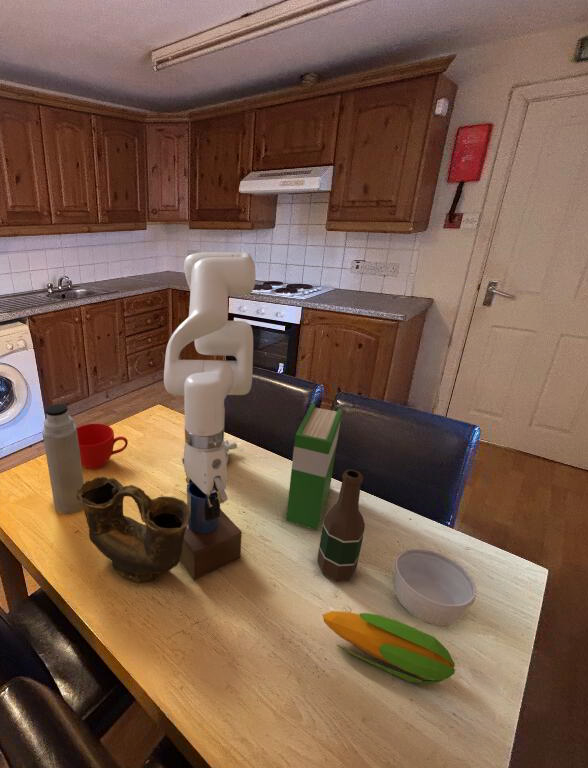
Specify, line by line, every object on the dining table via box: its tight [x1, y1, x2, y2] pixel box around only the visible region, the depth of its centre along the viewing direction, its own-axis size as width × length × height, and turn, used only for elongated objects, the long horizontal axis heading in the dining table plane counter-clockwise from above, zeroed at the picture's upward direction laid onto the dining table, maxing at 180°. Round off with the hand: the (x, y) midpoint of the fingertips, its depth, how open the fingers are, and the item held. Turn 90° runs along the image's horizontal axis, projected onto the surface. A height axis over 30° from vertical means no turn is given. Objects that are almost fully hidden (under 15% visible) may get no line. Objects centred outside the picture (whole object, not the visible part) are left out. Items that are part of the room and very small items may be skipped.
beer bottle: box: [316, 469, 366, 582], centre depth 83 cm, size 8×8×24 cm
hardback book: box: [285, 403, 343, 531], centre depth 102 cm, size 18×7×24 cm, turn 152°
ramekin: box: [393, 547, 477, 626], centre depth 79 cm, size 13×13×7 cm
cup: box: [186, 481, 219, 534], centre depth 88 cm, size 7×7×9 cm
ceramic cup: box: [77, 423, 129, 470], centre depth 123 cm, size 13×17×10 cm
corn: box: [322, 610, 456, 685], centre depth 69 cm, size 7×8×20 cm
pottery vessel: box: [77, 476, 191, 584], centre depth 86 cm, size 25×11×20 cm, turn 64°
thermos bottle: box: [41, 403, 85, 515], centre depth 102 cm, size 8×8×28 cm
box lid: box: [184, 508, 243, 555], centre depth 90 cm, size 13×12×1 cm
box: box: [180, 535, 243, 581], centre depth 92 cm, size 13×12×7 cm
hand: (203, 507), depth 88 cm, fingers closed on cup, 6 cm apart
